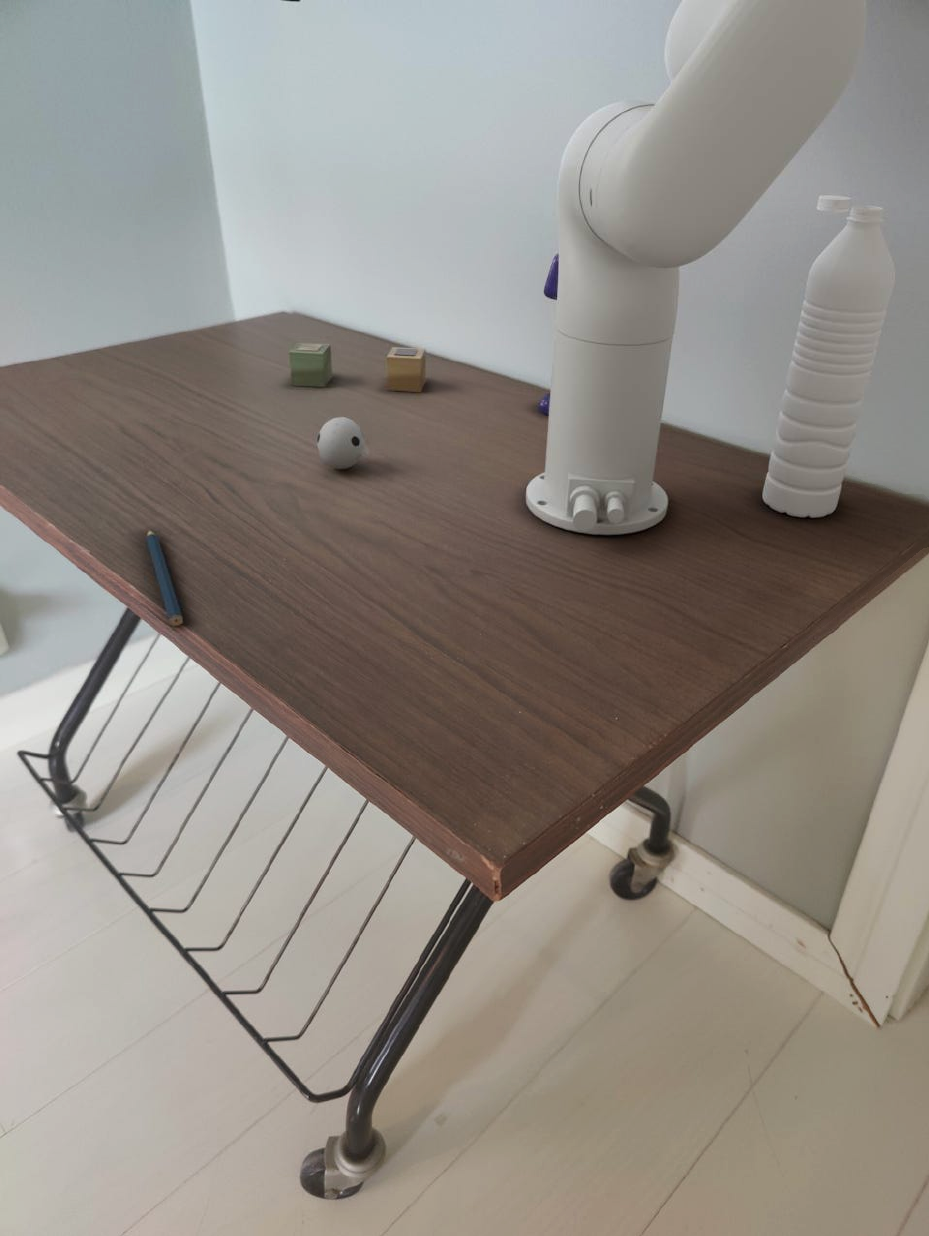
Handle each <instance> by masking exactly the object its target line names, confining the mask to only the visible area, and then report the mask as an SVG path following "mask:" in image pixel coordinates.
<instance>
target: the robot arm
mask: <svg viewBox="0 0 929 1236" xmlns="http://www.w3.org/2000/svg"><path fill="white" fill-rule="evenodd" d="M282 1H284V2H294V3H295V2H296V3H297V2H298V3H299V2H300V1H301V0H282ZM867 9H868V8H867V1H866V0H681V2H680V3H679V5H678V6H677V9H676V11H675V12H674V15H673V17H672V19H671V21H670V24H669V26H668V29H667V33H666V37H665V42H664V54H663V55H664V57H663V58H664V66H665V71H666V74H667V77H668V80H669V81H670V84H669V86H667V88H666V89H665V91H664V92H663V93H662V94H661V96H660V97H659V99H658V100H657V101H656V103H655V102H649V101H642V100H623V101H617V102H613V103H611V104H608V105H606V106H603V107H601V108H599V109H598V110H596V111H594V112H593V113H592V114H590V115H589V116H588V117H586V118H585V120H583V121H582V123H580V125H579V126H578V127H577V129H575V131H574V132H573V134H572V136H571V137H570V139H569V141H568V142H567V145H566V147H565V149H564V151H563V154H562V158H561V161H560V166H559V171H558V177H557V187H556V188H557V190H556V215H557V217H556V218H557V237H558V238H557V240H558V243H557V244H558V254H559V270H558V294H557V300H556V309H555V325H554V333H553V334H554V335H553V349H552V351H553V352H552V364H551V378H550V390H549V391H550V392H549V393H550V405H549V415H548V420H547V421H548V422H547V435H546V448H545V449H546V450H545V464H544V472H542V473H540V474H539V475H536V476H535V477H534V478H532V479H531V480H530V481H529V482H528V485H527V486H526V491H525V503H526V506H527V508H528V509H529V510H530V512H531V513H532V514H533V515H534V516H535V517H536V518H539V519H540V520H542V521H543V522H544V523H547V524H549V525H552V526H554V527H557V528H560V529H562V530H566V531H570V532H574V533H578V534H579V533H580V534H586V535H595V536H597V535H598V536H616V535H627V534H634V533H638V532H642V531H645V530H647V529H650V528H652V527H654V526H655V525H657V524H659V523H660V522H661V521H662V520H664V518H665V517H666V515H667V512H668V506H669V497H668V495H667V492H666V491H665V489H664V488H662V486H660V485H659V484H658V483H657V482H655V481H654V475H655V469H656V461H657V455H658V454H657V453H658V445H659V439H660V432H661V425H662V417H663V412H664V403H665V396H666V389H667V381H668V374H669V368H670V360H671V353H672V347H673V346H672V345H673V339H674V335H675V330H676V329H675V328H676V322H677V313H678V305H679V295H680V267H682V266H686V265H689V264H691V263H692V262H695V261H697V260H700V259H701V258H702V257H705V255H707V254H708V253H710V252H711V251H712V250H713V249H715V248H716V247H717V246H718V245H719V244H721V243H722V242H723V241H724V240H725V239H726V238H727V237H728V236H729V235H730V233H732V231H734V230H735V228H736V227H737V226H738V225H739V224H740V223H741V221H743V219H744V218H745V217H746V216H747V215H748V213H749V212H750V211H751V209H752V208H753V207H754V206H755V205H756V204H757V202H758V201H759V200H760V199H761V198H762V197H763V195H764V194H765V193H766V191H768V189H769V188H770V187H771V185H773V183H774V182H775V181H776V179H777V178H778V177H779V176H780V175H781V173H782V172H783V171H784V170H785V169H786V167H787V166H788V165H789V164H790V163H791V161H792V160H793V159H794V158H795V157H796V155H797V154H798V152H799V151H800V150H801V149H802V148H803V146H805V144H806V143H807V142H808V140H810V137H812V135H813V134H814V133H815V132H816V131H817V130H818V129H819V127H820V126H821V124H822V123H823V122H824V121H825V120H826V118H827V117H828V115H829V114H830V113H831V112H832V111H833V109H834V107H835V106H836V105H837V103H838V102H839V100H840V99H841V97H842V96H843V94H844V92H845V91H846V89H847V88H848V85H849V84H850V82H851V80H852V78H853V75H854V73H855V71H856V69H857V66H858V64H859V61H860V58H861V56H862V51H863V48H864V44H865V40H866V33H867V26H868V25H867V24H868V10H867Z"/></svg>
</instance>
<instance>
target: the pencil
mask: <svg viewBox="0 0 929 1236" xmlns="http://www.w3.org/2000/svg"><path fill="white" fill-rule="evenodd" d="M146 543H147V547H148V550H149V555H150V558H151V561H152V566H153V569H154V571H155V575H156V579H157V583H158V585H159V589H160V593H161V596H162V600H163V603H164V607H165V610H166V613H167V619H168V621H169V625H170V626H173V627H177V626H181V625H182V624H183V623H184V620H183V615H182V612H181V611H182V610H181V608H180V605H179V602H178V598H177V595H176V592H175V588H174V585H173V582H172V579H171V576H170V572H169V569H168V567H167V566H168V565H167V562H166V559H165V557H164V553H163V550H162V547H161V544H160V540H159V537H158V535H156V534H155V533H154V532H152V531H151V529H148V532H147V535H146Z"/></svg>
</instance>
